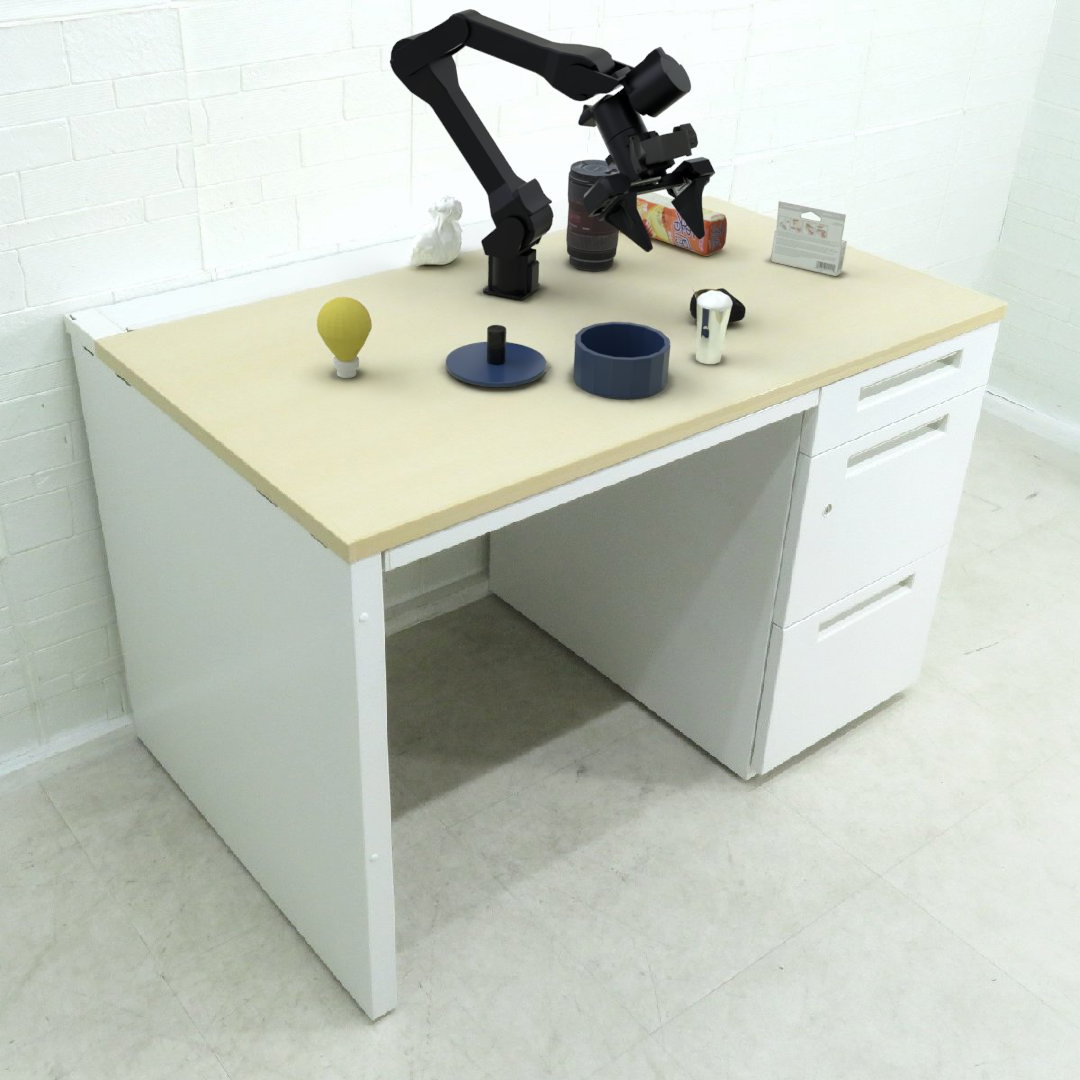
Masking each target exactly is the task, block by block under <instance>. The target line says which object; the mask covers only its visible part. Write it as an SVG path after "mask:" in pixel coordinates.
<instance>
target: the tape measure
mask: <svg viewBox="0 0 1080 1080" xmlns="http://www.w3.org/2000/svg"><path fill="white" fill-rule="evenodd" d="M710 290H713V291H720V292H722V293H724V294H726V295H728V296H729V297H730V299H731V300H732V308H731V312H730V317H729V321H728V324H727V325H729V324H734V323H738V322H740V321H743V320H744V318H746V317H745V316H746V312H747V311H746V310H747V309H746V306H745V305H744V303H742V301H741V300H739V299H738V298H736V296H734V295H733V294H732V293H730V292H729V291H728V290H727V289H725V288H723V287H721V288H720V287H719V288H716V289H715V288H702V289H699V290H696V291H694V292H695V294H694V293H693V294H692V296H691V297H690V302H689V311H690V315H691V317H692V318H693V319H695V320H696V321H697V300H696V298H698V297H699V296H700V295H701V294H703V293H706V292H708V291H710ZM695 295H696V297H695Z"/></svg>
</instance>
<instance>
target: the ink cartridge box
mask: <svg viewBox="0 0 1080 1080" xmlns="http://www.w3.org/2000/svg"><path fill="white" fill-rule="evenodd" d="M777 204H778V205H777V215H776V226H775V227H776V228H775V230H774V234H773V241H772V247H771V255H770V261H771V262H772V263H775V264H781V265H785V266H789V267H793V268H797V269H802V270H805V271H806V270H807V271H810V272H814V273H819V274H823V275H828V276H832V277H837V276H838V275H840V274H842V272H843V265H844V261H845V254H846V248H847V244H848V242H847V240H844V239H843V236H844V229H845V223H846V216H847V215H846V214H845V213H840V212H834V211H830V210H825V209H820V208H815V207H809V206H804V205H800V204H796V203H790V202H785V201H781V200H779V201H778V203H777ZM807 213H812V214H814V215H815V216H816V217H818V218H819V220H814V219H810V218H806V217H802V215H803V214H807Z"/></svg>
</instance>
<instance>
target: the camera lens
mask: <svg viewBox="0 0 1080 1080" xmlns="http://www.w3.org/2000/svg"><path fill="white" fill-rule="evenodd" d="M614 174H619V173H618V171H617V169H616V167H615V165H611V166H608V165H607V163H606V161H605V159H582V160H578V161H575V162H573V163H572V164H570V170H569V172H568V177H567V179H568V180H567V203H568V209H567V223H566V234H565V235H566V238H565V241H566V253H567V255H568V257H569V258H568V261H569V264H570V266H572V267H573V268H575V269H578V270H583V271H593V272H596V271H597V272H598V271H605V270H608V269H611V267H612V266H613V265H614V258H615V257H616V256H617V249H618V245H619V244H618V243H619V232H620V231H619V230H617V229H616V228H614V227H613V226H611V225H610V224H608V223H607V222H605V221H603V220H602V221H599V220H598V218H597V217H598V216H599V215H597V216H593V217H589V216H588V214H587V212H586V210H585V208H584V205H583V199H584V194H585V193H586V192H587V191H588V190H589V189H590V188H591V187H592V186H593V185H594V184H595V183H596V182H597V181H598V180H599V179H600V178H601V177H604V176H609V175H614Z"/></svg>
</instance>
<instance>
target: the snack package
mask: <svg viewBox="0 0 1080 1080" xmlns="http://www.w3.org/2000/svg"><path fill="white" fill-rule="evenodd" d="M673 199H674V197H669V196H666V195H663V194H659V193H656V192H651V193H646V194H641V195H637V210H638V212H639V214H640V216H641V219H642V221H643V223H644V226H645V228H646V230H647V232H648V235H649V237H650V239H654V240H657V241H660V242H664V243H667V244H670V245H673V246H676V247H678V248H682V249H685V250H687V251H690V252H693V253H695V254H698V255H700V256H703V257H709V256H712V255H713V254H716V253H717V252H720V251H721V250H722V249H723V248H724V246H725V245H726V241H727V232H728V221H727V216H726V214H724V213H723V212H718V211H715V210H711V209H708V208H704V207H702V209H703V219H704V229H705V236H704V237H703V238H702V239H698V238H697V237H696V236H695V235H694V234H693V232H692V231H691V230H690V228H689V227H688V226H687V224H686V223H685V221H684V220H683V219H682V217H681V216H680V214H679V213H678V212H677V210H676V209H675V207H674V206H673V205H672V203H671V201H672V200H673Z"/></svg>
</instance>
